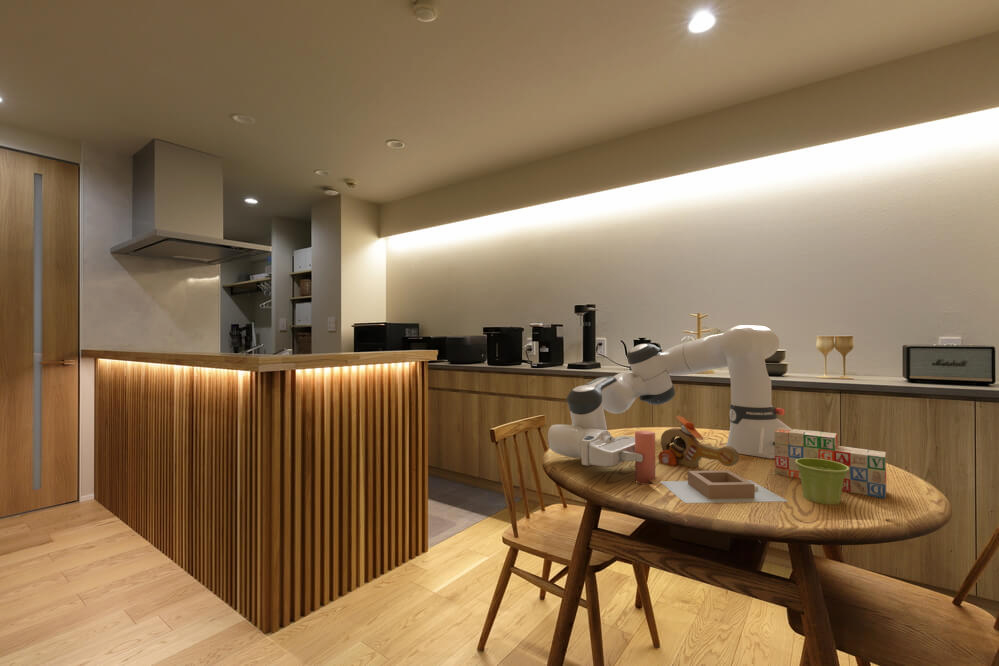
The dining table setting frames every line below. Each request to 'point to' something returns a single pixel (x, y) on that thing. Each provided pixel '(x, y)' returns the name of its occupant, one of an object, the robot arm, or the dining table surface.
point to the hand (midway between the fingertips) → (648, 455)
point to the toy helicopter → (691, 447)
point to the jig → (719, 488)
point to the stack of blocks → (831, 459)
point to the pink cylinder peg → (645, 456)
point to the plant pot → (822, 479)
